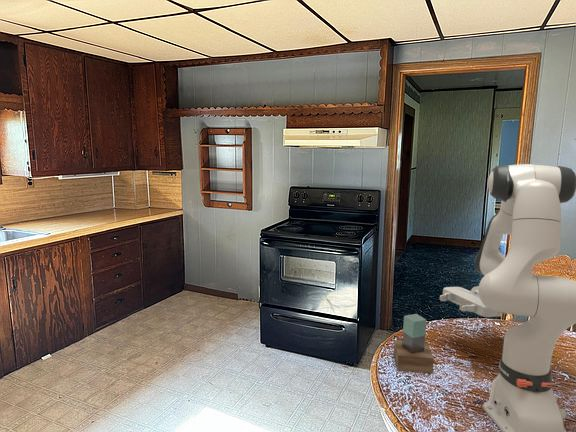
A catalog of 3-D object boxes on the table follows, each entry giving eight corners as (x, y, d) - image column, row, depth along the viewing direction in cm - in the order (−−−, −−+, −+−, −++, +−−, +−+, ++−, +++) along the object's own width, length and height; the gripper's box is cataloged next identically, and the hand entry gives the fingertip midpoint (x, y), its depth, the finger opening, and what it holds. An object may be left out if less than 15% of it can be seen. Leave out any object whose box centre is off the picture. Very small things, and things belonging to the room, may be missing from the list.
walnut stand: (432, 373, 130) (433, 358, 129) (397, 370, 131) (398, 356, 130) (426, 355, 140) (427, 342, 140) (393, 353, 142) (394, 339, 141)
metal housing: (424, 351, 133) (426, 319, 132) (411, 353, 132) (413, 321, 130) (414, 344, 138) (416, 313, 136) (402, 346, 136) (404, 315, 134)
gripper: (461, 281, 151) (430, 284, 147) (507, 299, 132) (474, 304, 128) (460, 297, 152) (429, 301, 148) (505, 318, 133) (472, 323, 129)
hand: (450, 303), depth 137 cm, fingers open, 8 cm apart
